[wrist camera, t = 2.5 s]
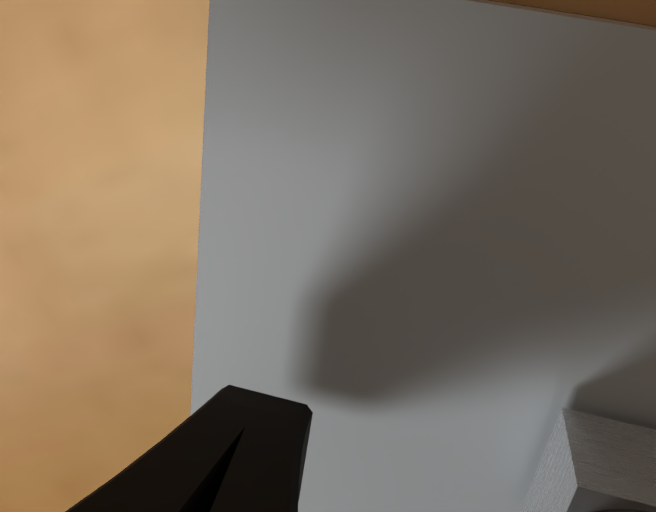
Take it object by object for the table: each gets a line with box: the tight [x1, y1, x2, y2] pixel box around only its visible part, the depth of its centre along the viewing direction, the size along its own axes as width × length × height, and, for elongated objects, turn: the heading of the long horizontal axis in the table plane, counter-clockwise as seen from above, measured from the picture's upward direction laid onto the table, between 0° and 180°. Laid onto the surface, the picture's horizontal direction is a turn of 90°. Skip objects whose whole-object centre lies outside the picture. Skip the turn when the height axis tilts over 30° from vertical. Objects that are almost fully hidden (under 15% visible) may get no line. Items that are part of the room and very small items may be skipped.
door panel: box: [190, 0, 656, 512], centre depth 9 cm, size 13×14×3 cm
